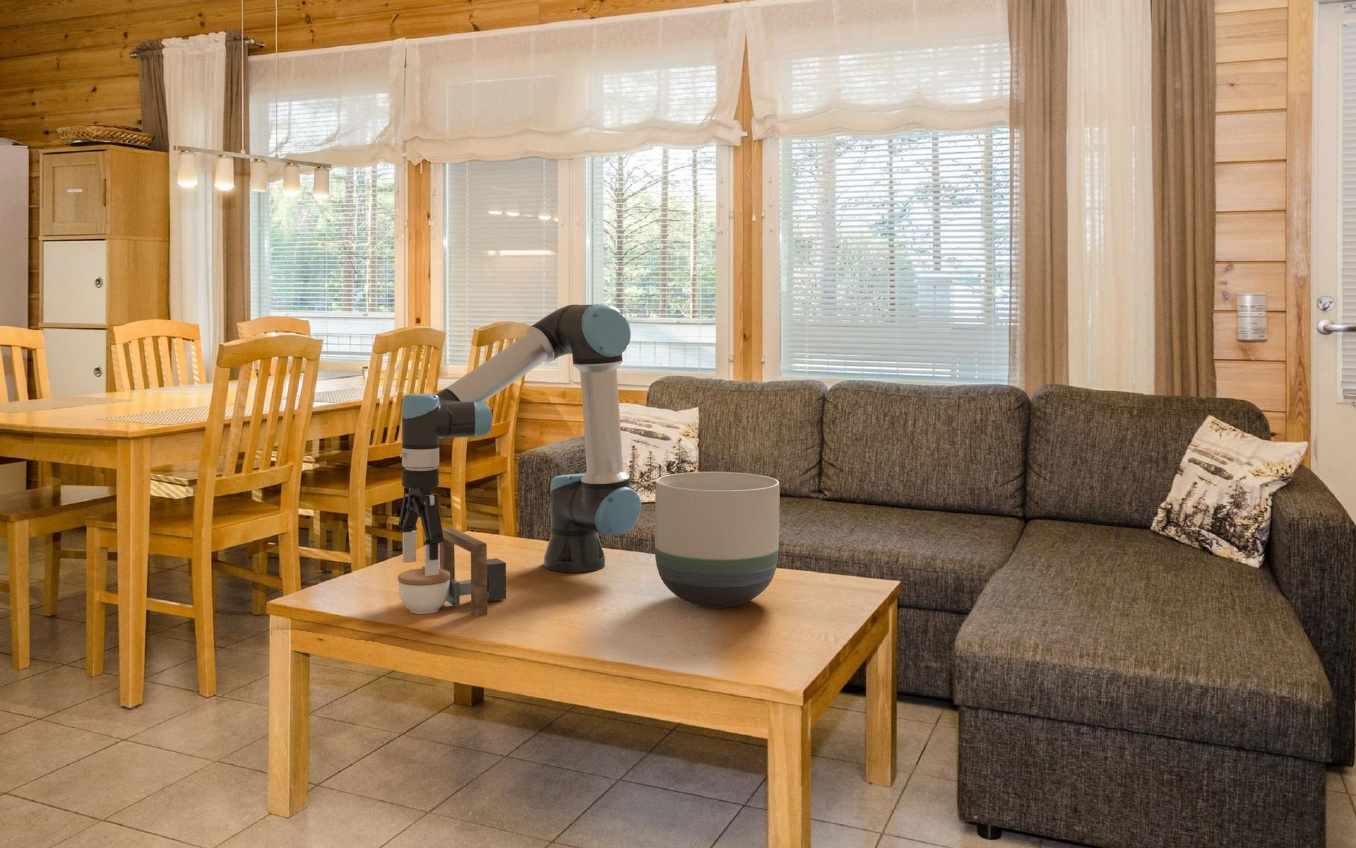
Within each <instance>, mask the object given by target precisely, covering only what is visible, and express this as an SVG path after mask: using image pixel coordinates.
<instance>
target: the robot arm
mask: <svg viewBox="0 0 1356 848" xmlns="http://www.w3.org/2000/svg"><path fill="white" fill-rule="evenodd" d="M631 333H632V332H631V327H630V323H629V321H628V319H627V316H625V314H624V313H622V311H621V310H620V309H618V308H617V307H615V306H613V305H612V306H611V305H607V304H603V303H602V304H601V303H600V304H598V303H595V304H570V305H569V304H568V305H565V306H562V307H560V308H558V309H556V310H554V311H553V312H550V313H549V314H548V315H545V316H544V317H543V318H542V319H540V320H538V321H537V322H535V323H534V324H532V325H531V326H529V327H528V328H527V329H526V330H525V335H523V337H520V338H518V339H517V340H516V341H515V342H513V343H511V344H510V345H508V346H507V347H506V348H504V349H503V350H501V351H499V352H498V353H496V354H495V355H493V356H492V357H491V358H489V359H488V360H486V361H484V362H483V363H481V364H480V365H478V366H477V367H476V368H474V369H473V370H471V371H470V372H468V373H466V374H465V375H464V376H462V377H460V378H459V379H458V380H456V381H454V382H453V383H451V384H450V385H448V386H447V387H445V388H444V389H442V390H440V391H439V392H437V393H436V394H435V393H409V394H408V393H407V394H406V395H404V396H403V398H402V402H401V415H400V418H401V452H400V453H399V457H400V458H401V466H402V467H403V469H402V470H401V486H402V487H403V496H402V502H401V508H400V513H399V519H398V520H399V521H398V527H399V528H401V532H402V563H403V564H404V563H413V562H417V531H418V528H417V522H418V519H419V518H420V523H421V524H422V525H421V526H422V529H423V532H424V535H425V539H426V540H424V542H423V545H424V566H425V575H426V576H430V575H439V569H440V546H439V544H440V542H443V541H444V538H443V532H442V528H443V527H442V520H441V516H440V511H439V497H438V494H432V491H431V490H432V489H434V488H436V487H438V486H439V484H440V472H439V471H440V470H439V469H438V468H437V467H438V466H440V439H449V438H450V439H451V438H454V439H455V438H476V437H483V436H486V435H488V434H489V433H490V431H491V429H492V426H493V414H492V410H491V407H490V405H488V403H486V401H488V400H490V399H491V398H492V397H494V396H495V395H497V394H498V393H499V392H501V391H503V390H504V389H506V388H507V387H509V386H510V385H511V384H513V383H514V382H516V381H517V380H519V379H521V378H522V377H524V376H525V375H526V374H528V373H529V372H531V371H532V370H533V369H535V368H536V367H538V366H539V365H541V364H542V363H546V364H547V363H551V362H553V361H555V359H557V358H560V357H562V356H565V355H571V356H572V365H573V366H574V367H575V368H576V369H577V370H578V371H579V375H580V376H579V377H580V388H581V389H580V390H581V391H580V393H581V405H582V419H583V421H582V422H583V432H584V433H583V434H584V450H585V463H586V472H584V473H570V474H561V475H556V476H554V477H553V478H552V479H551V481H550V482H551V483H550V490H549V494H550V536H549V537H550V538H549V540H548V544H547V546H546V549H545V552H544V553H545V554H544V556H543V567H544V568H545V569H547V570H550V571H553V572H559V573H560V572H561V573H586V572H592V571H597V570H600V569H603V568H604V567H606V566H605V565H606V555H605V553H604V550H603V546H602V544H601V540H600V537H599V533H600V534H603V535H607V536H621V535H624V534H626V533H628V532H629V531H630V530H632V529H633V528H634V525H635V524H636V523H637V522H638V521H639V519H640V515H641V513H642V500H641V497H640V495H639V494H638V493H637V492H636V491H635V490H634V489H633V488H631V477H630V476H631V475H630V474H629V473H628V472H627V471H626V470H625V469H624V465H623V464H624V462H623V460H624V459H623V449H622V448H623V446H622V430H621V416H620V415H621V414H620V401H619V400H620V399H619V386H618V371H617V370H618V368H619V367H620V366H621V364H622V363H623V353H624V352H626V350H627V349H628V347H627V346H629V345H630V343H631Z"/></svg>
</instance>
